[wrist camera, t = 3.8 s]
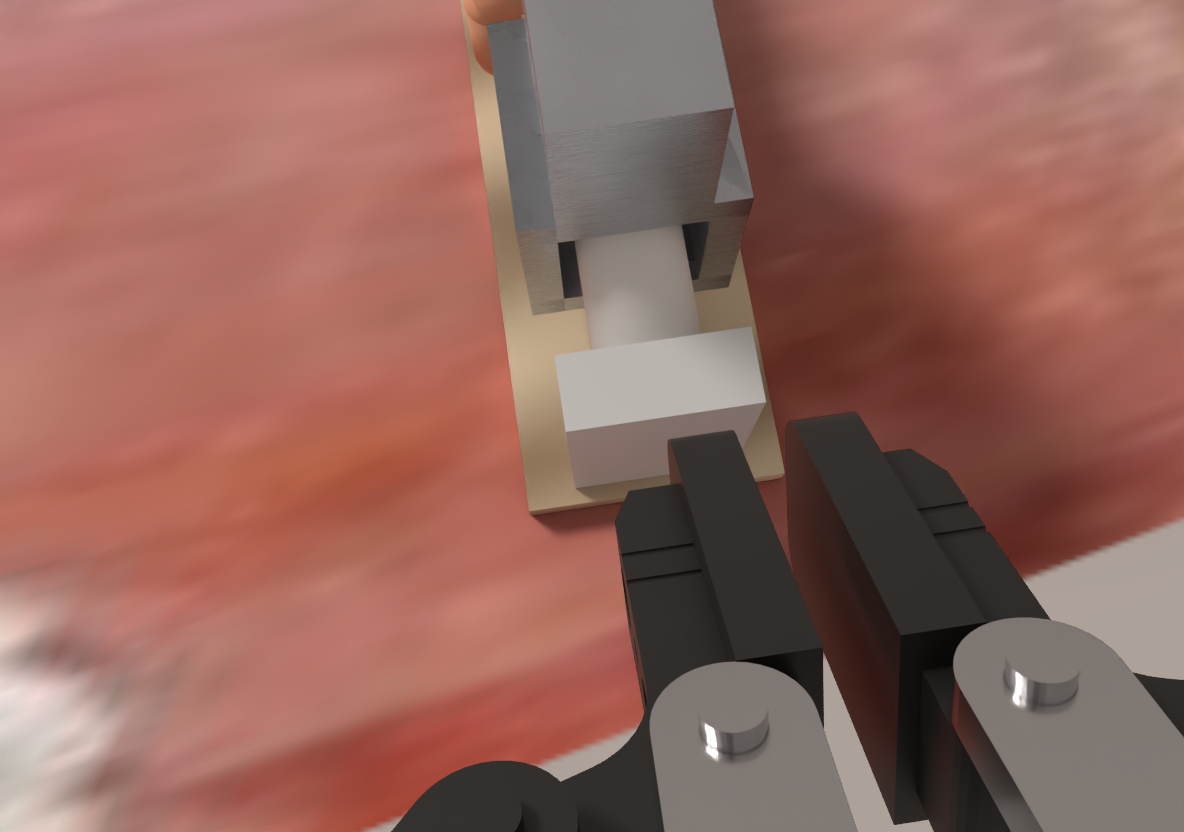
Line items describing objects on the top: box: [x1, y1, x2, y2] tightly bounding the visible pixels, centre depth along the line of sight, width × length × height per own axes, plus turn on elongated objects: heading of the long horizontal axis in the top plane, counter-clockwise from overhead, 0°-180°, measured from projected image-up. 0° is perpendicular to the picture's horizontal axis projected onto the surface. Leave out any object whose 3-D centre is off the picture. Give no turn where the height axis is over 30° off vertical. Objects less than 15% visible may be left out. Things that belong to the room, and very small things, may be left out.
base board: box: [460, 0, 785, 516], centre depth 38 cm, size 31×8×1 cm, turn 8°
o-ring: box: [464, 0, 523, 76], centre depth 32 cm, size 2×7×7 cm, turn 99°
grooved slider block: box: [486, 0, 754, 316], centre depth 29 cm, size 6×6×10 cm
